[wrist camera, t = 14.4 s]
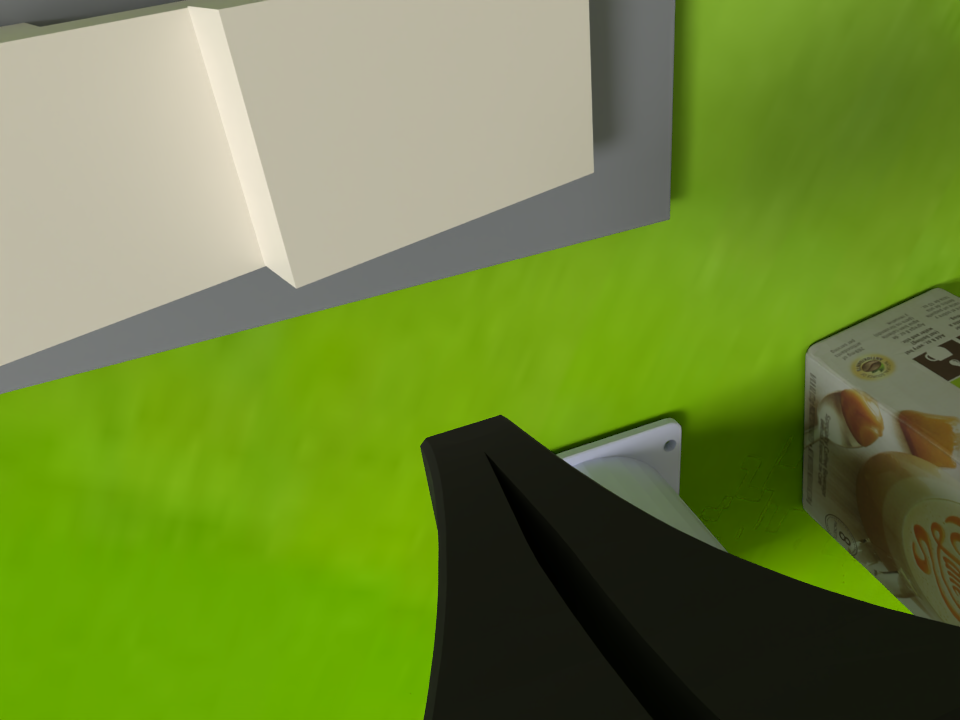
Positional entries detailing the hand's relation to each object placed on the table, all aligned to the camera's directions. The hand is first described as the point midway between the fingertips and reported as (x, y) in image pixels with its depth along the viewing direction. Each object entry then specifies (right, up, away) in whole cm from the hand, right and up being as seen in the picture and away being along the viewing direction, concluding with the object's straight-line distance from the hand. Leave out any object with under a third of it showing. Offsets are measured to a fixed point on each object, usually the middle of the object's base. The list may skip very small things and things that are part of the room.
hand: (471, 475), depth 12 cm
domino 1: (-3, +7, +4) cm, 9 cm away
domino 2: (+2, +9, +6) cm, 11 cm away
